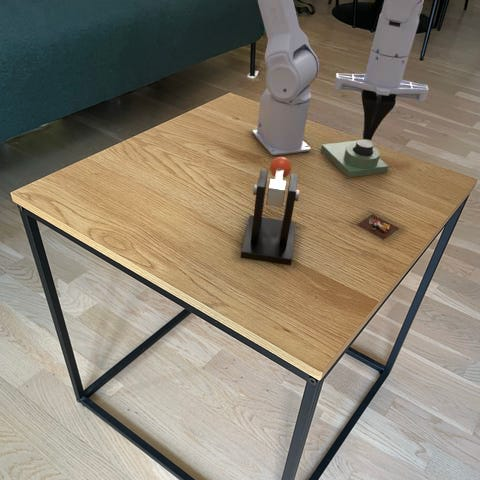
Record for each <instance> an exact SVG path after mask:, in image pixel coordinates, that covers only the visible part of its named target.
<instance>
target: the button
mask: <svg viewBox="0 0 480 480" xmlns="http://www.w3.org/2000/svg"><path fill="white" fill-rule="evenodd" d="M356 141H357V142H356V146H355V150H354V152H355V153H356V154H358V155H362V156H370V155H371V153H372V150H373V147H375V144H374V142H373V141H372V140H366V139H357V140H356Z"/></svg>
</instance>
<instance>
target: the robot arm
mask: <svg viewBox="0 0 480 480" xmlns="http://www.w3.org/2000/svg"><path fill="white" fill-rule="evenodd" d="M424 1H425V0H384V1H383V4H382V9H381V11H380V14H379V17H378V21H377V23H376V24H377V25H376V28H375V33H374V37H373V41H372V45H371V48H370V52H369V57H368V62H367V65H366V69H365V73H338V72H336V74H335V78H334V84H333V90H334V91H342V90H346V91H350V92H351V91H352V92H358V93H360V94H361V103H362V109H363V130H362V140H368V141H372V139H373V137H374V135H375V133H376V131H377V129H378V128H379V127H380V125H381V123H382V122H383V120H384V119H385V118H386V117H387V115H388V114H389V113H390V112H391V111H392V110H393V109H394V107H395V106H396V102H397V100H396V98H403V99H412V100H417V102H421V103H425V102H426V101H427V97H428V93H429V90H430V89H429V86H428V85H427V84H422V83H416V82H413V81H409V80H406V79H403V76H404V74H405V71H406V66H407V64H408V61H409V57H410V54H411V50H412V46H413V44H414V40H415V36H416V33H417V31H418V27H419V24H420V15H421V13H422V11H423V7H424V5H423V4H424ZM257 4H258V7H259V11H260V15H261V19H262V23H263V26H264V30H265V34H266V38H267V44H266V48H265V53H264V61H265V66H266V75H265V84H266V89H265V90H264V91H263V93H262V94H261V96H260V100H259V109H258V117H257V125H256V126H257V127H256V129H253V130H252V134H253V136H255V138H256V139H257V140H258V141H259V143H260V144H262V146H263V147H264V148H265V150H267V151H268V153H270V155H271V156H279V155H289V154H297V153H303V152H310V151H311V150H312V148H311V147H310V145H308V144H307V142H305V141H304V136H305V129H306V125H307V119H308V113H309V107H310V102H311V97H312V92H311V87H310V86H311V84H313V83H314V82H315V80H316V79H317V77H318V75H319V72H320V61H319V58H318V56H317V54H316V53H315V52H314V50H313V49H312V48H311V45H310V42H309V37H308V36H307V35H306V34H305V32H304V31H303V30H302V29H301V27H300V24H299V19H298V15H297V10H296V7H295V2H294V0H257Z"/></svg>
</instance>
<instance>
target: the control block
mask: <svg viewBox="0 0 480 480" xmlns="http://www.w3.org/2000/svg"><path fill="white" fill-rule="evenodd" d="M357 141H358V140H349V141H341V142H332V143H326V144H322V145H321V148H320V152H321V153H323V154H324V155H325V157H327V159H329V161H331V162H332V163H333V164H334V166H336V167H337V168H338V170H340V171H341V172H342V173H343V174H344V175H345V176H346V177H347V178H355V177H361V176H362V177H364V176H371V175H377V174H383V173H387V172H388V170H389V165H388V164H387V163H386V162H385V161H383V160H382V159H381V158H380V157H381V152H380V150H379V149H378V148H376V147H375V146H373V150H372V153H371V155H370V156H362V155H358V154H356V153H355V152H354V150H355V146H356V142H357Z"/></svg>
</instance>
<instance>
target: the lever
mask: <svg viewBox="0 0 480 480" xmlns="http://www.w3.org/2000/svg"><path fill="white" fill-rule="evenodd" d="M269 170H270V173H271V175H272V176H273V177H274V178H270V179H269V182H268V188H267V194H266V200H265V201H266V202H265V204H266V205H267V206H274V207H281V208H282V207H283V206H284V200H285V194H286V187H287V180H283V179H285V178H287V177H288V176H289V175H290V174H291V172H292V171H291V170H292V164H291V161H290V160H289V159H287V158H286V157H284V156H277V157H275V158H274V159H273V160H272V161H271V163H270V167H269Z"/></svg>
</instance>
